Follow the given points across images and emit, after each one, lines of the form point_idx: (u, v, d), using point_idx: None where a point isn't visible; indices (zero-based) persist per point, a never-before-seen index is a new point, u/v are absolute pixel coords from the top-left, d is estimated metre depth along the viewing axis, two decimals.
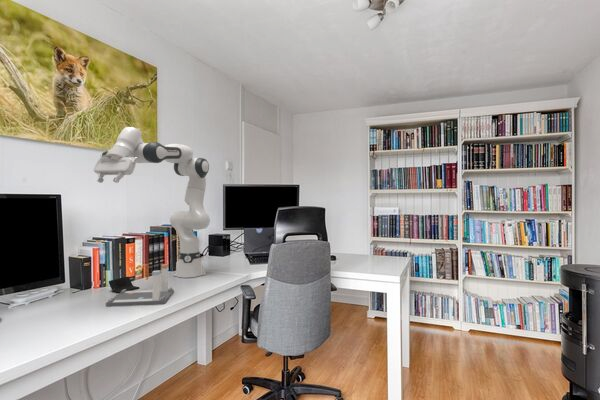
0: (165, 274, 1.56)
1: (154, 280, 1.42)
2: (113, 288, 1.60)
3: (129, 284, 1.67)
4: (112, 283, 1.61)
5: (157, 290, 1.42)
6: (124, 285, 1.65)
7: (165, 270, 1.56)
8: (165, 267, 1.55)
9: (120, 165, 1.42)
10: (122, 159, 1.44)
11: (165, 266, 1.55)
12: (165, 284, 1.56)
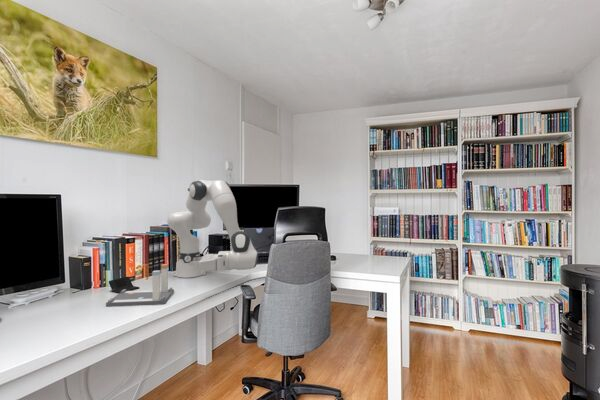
0: (165, 274, 1.56)
1: (154, 280, 1.42)
2: (113, 288, 1.60)
3: (129, 284, 1.67)
4: (112, 283, 1.61)
5: (157, 290, 1.42)
6: (124, 285, 1.65)
7: (165, 270, 1.56)
8: (165, 267, 1.55)
9: None
10: None
11: (165, 266, 1.55)
12: (165, 284, 1.56)
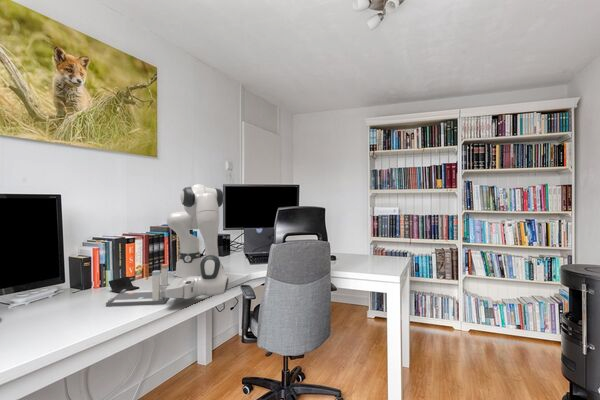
0: (165, 274, 1.56)
1: (154, 280, 1.42)
2: (113, 288, 1.60)
3: (129, 284, 1.67)
4: (112, 283, 1.61)
5: (157, 290, 1.42)
6: (124, 285, 1.65)
7: (165, 270, 1.56)
8: (165, 267, 1.55)
9: None
10: None
11: (165, 266, 1.55)
12: None
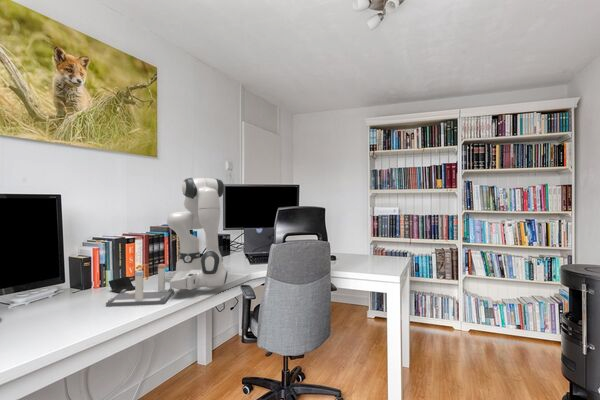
0: (162, 274, 1.55)
1: (137, 281, 1.40)
2: (113, 288, 1.60)
3: (129, 284, 1.67)
4: (112, 283, 1.61)
5: (140, 291, 1.41)
6: (124, 285, 1.65)
7: (162, 270, 1.55)
8: (162, 267, 1.55)
9: None
10: None
11: (162, 266, 1.55)
12: (162, 284, 1.55)
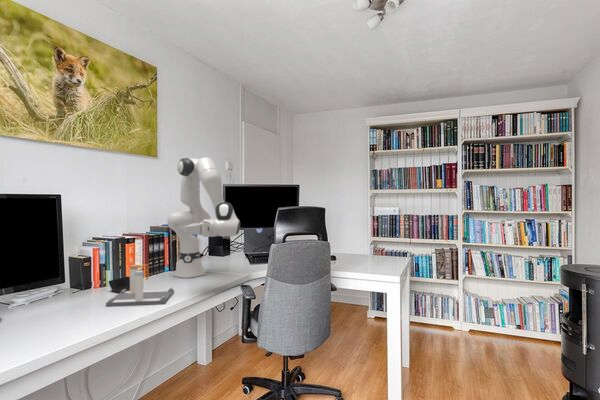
0: (134, 275, 1.53)
1: (137, 281, 1.40)
2: (113, 288, 1.60)
3: (129, 284, 1.67)
4: (112, 283, 1.61)
5: (140, 291, 1.41)
6: (124, 285, 1.65)
7: (134, 271, 1.53)
8: (134, 268, 1.53)
9: None
10: None
11: (134, 267, 1.53)
12: (134, 285, 1.53)
